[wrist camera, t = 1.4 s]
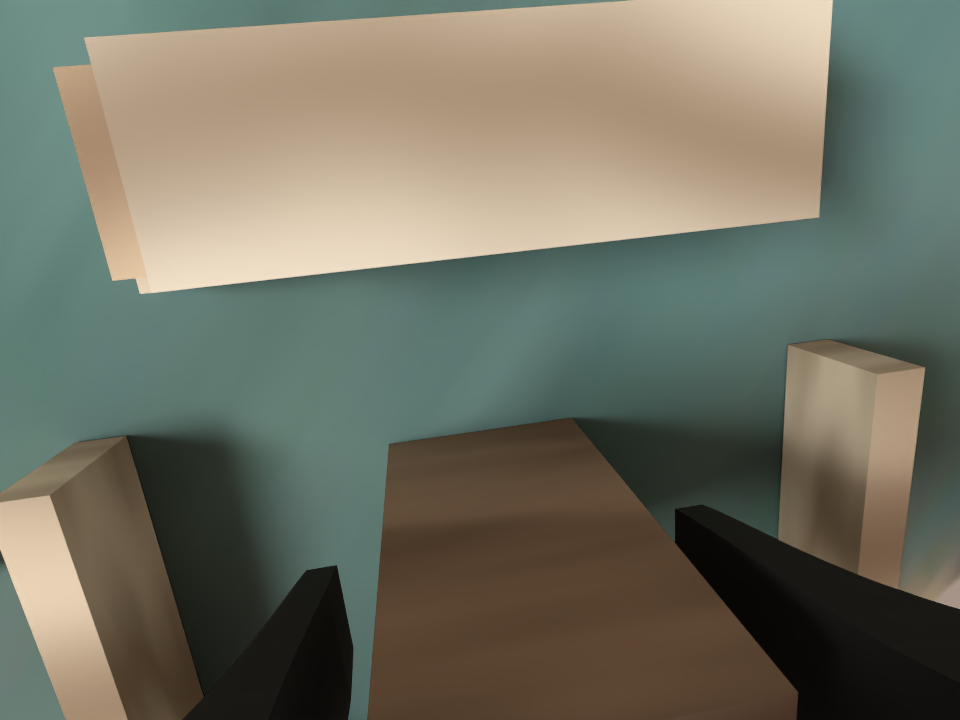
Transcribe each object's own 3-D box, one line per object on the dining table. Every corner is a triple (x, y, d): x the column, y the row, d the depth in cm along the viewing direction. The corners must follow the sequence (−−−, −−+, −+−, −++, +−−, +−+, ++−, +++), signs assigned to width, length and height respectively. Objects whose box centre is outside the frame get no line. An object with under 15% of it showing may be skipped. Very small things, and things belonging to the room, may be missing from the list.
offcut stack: (730, 222, 14) (847, 224, 10) (166, 286, 13) (65, 315, 9) (733, 51, 13) (866, -16, 9) (118, 100, 12) (-19, 45, 8)
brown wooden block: (578, 529, 16) (783, 902, 7) (407, 557, 15) (407, 995, 7) (571, 417, 15) (798, 692, 6) (388, 444, 14) (362, 782, 6)
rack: (804, 671, 18) (944, 832, 14) (189, 796, 16) (99, 1034, 12) (827, 339, 15) (1020, 394, 10) (74, 442, 13) (-113, 569, 8)
